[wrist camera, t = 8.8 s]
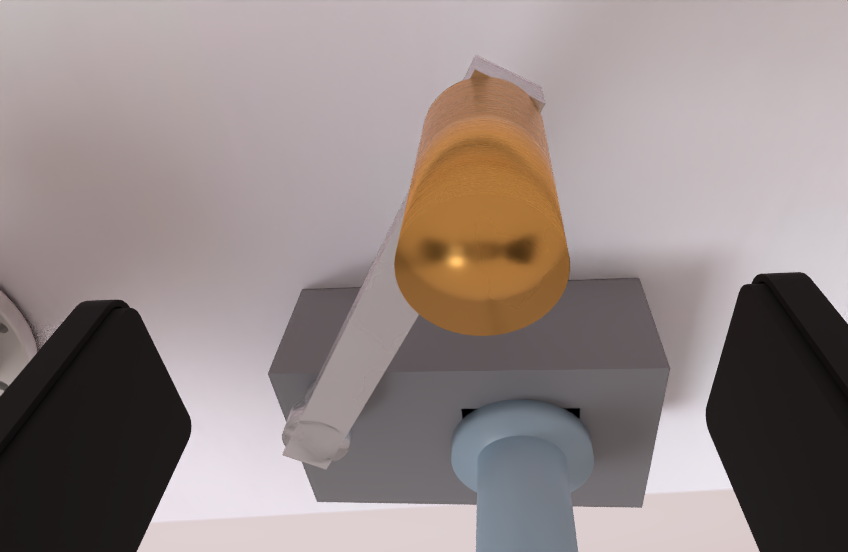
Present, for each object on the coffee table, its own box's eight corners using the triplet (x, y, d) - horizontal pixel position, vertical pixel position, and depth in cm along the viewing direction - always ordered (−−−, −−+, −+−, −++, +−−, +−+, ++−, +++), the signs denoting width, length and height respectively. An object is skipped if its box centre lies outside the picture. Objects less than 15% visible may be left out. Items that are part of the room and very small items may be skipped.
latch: (344, 450, 26) (304, 621, 21) (277, 427, 26) (217, 596, 20) (563, 93, 16) (606, 240, 10) (456, 40, 15) (438, 164, 9)
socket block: (339, 414, 36) (311, 522, 31) (302, 289, 30) (259, 394, 25) (620, 413, 34) (647, 529, 28) (639, 278, 28) (677, 391, 22)
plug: (460, 421, 33) (447, 706, 22) (451, 337, 29) (430, 634, 18) (577, 421, 32) (622, 718, 21) (583, 335, 28) (642, 644, 17)
